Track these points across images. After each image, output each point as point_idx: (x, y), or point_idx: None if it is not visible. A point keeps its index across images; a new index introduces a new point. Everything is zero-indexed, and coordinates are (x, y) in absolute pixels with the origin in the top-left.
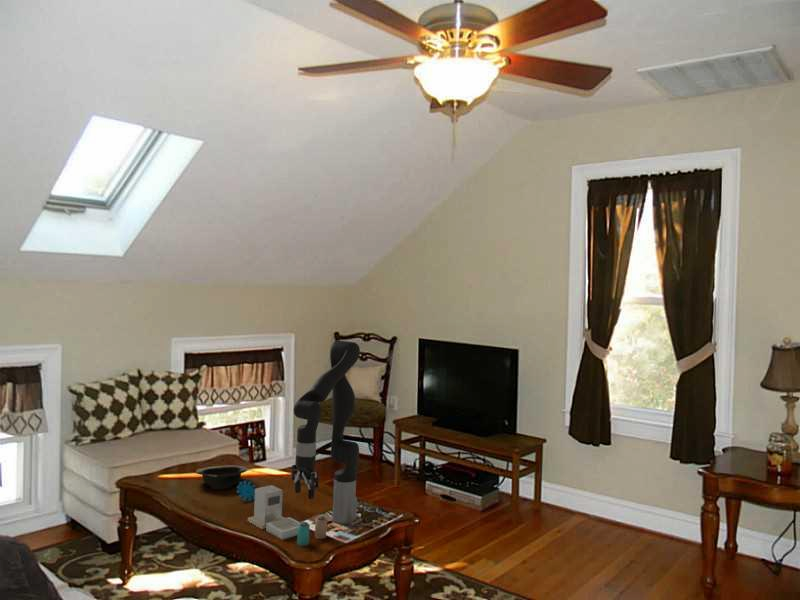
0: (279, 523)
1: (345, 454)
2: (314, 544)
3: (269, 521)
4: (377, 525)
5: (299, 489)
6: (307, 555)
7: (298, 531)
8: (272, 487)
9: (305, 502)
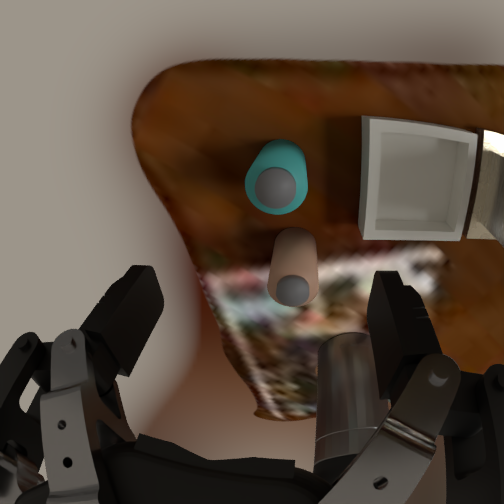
0: (458, 186)
1: None
2: None
3: (492, 173)
4: (263, 377)
5: (373, 326)
6: (175, 121)
7: (278, 150)
8: None
9: (488, 337)
